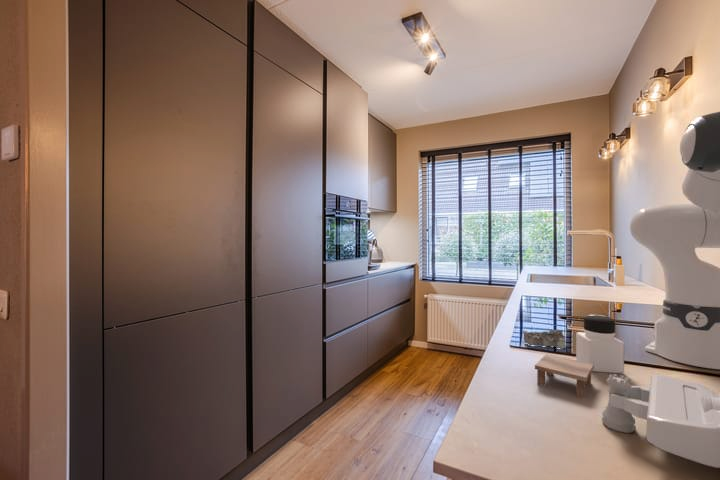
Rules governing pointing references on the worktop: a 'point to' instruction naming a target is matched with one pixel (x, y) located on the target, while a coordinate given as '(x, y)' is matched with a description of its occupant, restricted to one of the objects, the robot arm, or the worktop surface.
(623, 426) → the rook chess piece
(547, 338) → the mossy rock
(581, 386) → the footstool
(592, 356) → the medicine bottle
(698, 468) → the worktop surface
